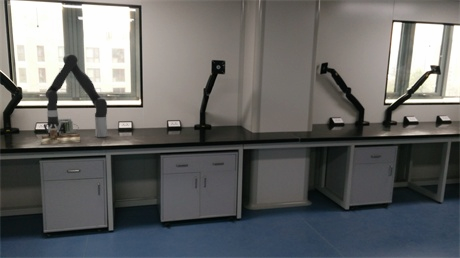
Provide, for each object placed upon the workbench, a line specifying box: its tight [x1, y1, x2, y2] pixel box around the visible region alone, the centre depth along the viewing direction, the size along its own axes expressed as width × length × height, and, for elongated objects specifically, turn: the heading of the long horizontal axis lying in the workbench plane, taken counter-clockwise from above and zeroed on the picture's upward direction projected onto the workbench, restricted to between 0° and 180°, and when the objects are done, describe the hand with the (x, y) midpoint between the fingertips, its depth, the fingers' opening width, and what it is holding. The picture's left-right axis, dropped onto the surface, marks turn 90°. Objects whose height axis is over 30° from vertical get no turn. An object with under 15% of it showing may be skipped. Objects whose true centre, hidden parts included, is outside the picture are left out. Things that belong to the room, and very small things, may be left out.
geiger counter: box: [47, 117, 79, 135], centre depth 320 cm, size 14×6×25 cm
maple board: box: [40, 133, 81, 145], centre depth 292 cm, size 28×14×4 cm, turn 113°
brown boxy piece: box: [50, 129, 57, 139], centre depth 289 cm, size 5×10×6 cm, turn 23°
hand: (53, 136), depth 291 cm, fingers closed on brown boxy piece, 5 cm apart
